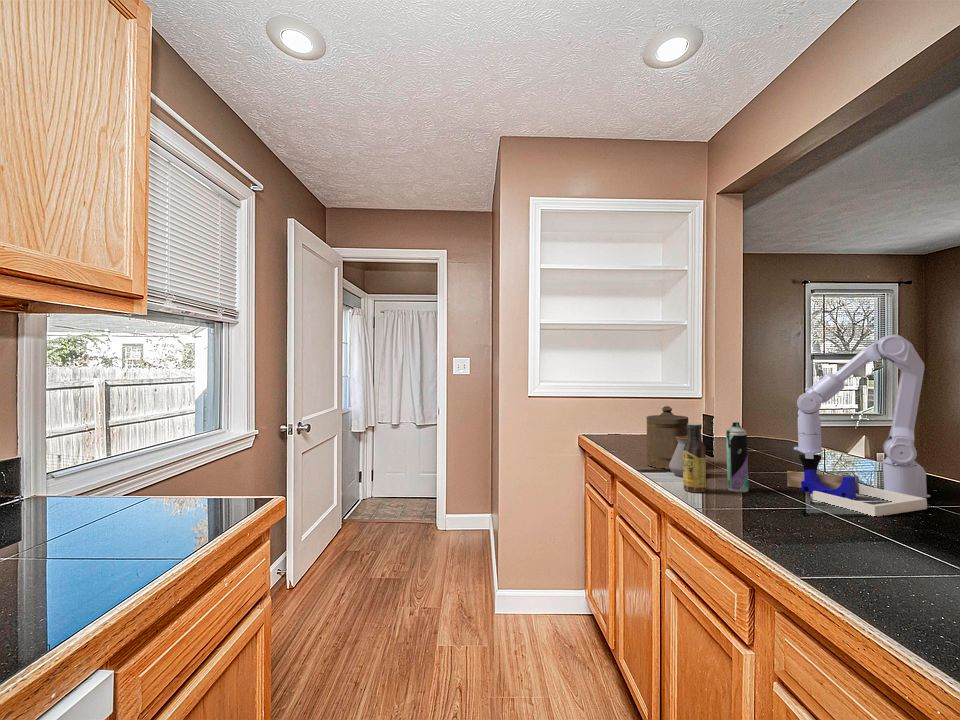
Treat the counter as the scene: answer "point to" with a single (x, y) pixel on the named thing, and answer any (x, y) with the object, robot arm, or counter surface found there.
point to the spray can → (737, 458)
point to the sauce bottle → (694, 460)
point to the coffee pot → (678, 457)
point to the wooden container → (664, 437)
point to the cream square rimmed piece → (896, 506)
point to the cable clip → (815, 484)
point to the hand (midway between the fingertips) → (810, 479)
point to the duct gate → (826, 479)
